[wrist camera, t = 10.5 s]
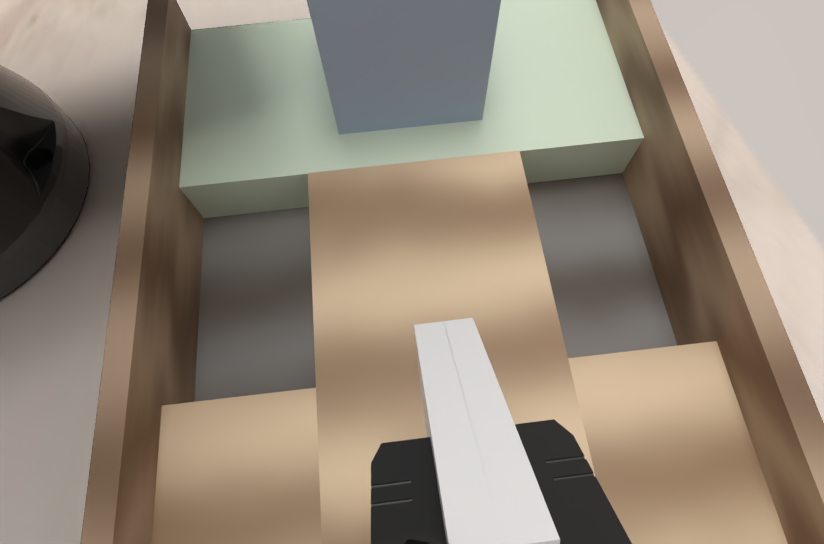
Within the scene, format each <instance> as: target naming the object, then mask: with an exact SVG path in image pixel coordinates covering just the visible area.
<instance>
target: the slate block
mask: <svg viewBox="0 0 824 544" xmlns="http://www.w3.org/2000/svg"><path fill="white" fill-rule="evenodd" d="M307 3H308V7H309V11H310V16H311V20H312V24H313V28H314V32H315V37H316V41H317V45H318V49H319V53H320V57H321V62H322V66H323V70H324V74H325V78H326V82H327V87H328V91H329V95H330V99H331V103H332V107H333V112H334V116H335V120H336V124H337V128H338V132H339V134H349V133H359V132H368V131H378V130H388V129H398V128H407V127H417V126H427V125H437V124H446V123H456V122H466V121H476V120H482V119H483V112H484V106H485V100H486V93H487V87H488V80H489V74H490V68H491V61H492V55H493V49H494V42H495V36H496V30H497V23H498V17H499V10H500V4H501V0H307Z"/></svg>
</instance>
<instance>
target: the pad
mask: <svg viewBox="0 0 824 544" xmlns="http://www.w3.org/2000/svg"><path fill="white" fill-rule="evenodd" d="M643 139H644V136H643V133H642V130H641V127H640V125H639V122H638V119H637V116H636V113H635V110H634V108H633V105H632V102H631V99H630V96H629V93H628V90H627V88H626V85H625V82H624V79H623V76H622V73H621V71H620V68H619V65H618V62H617V59H616V56H615V54H614V51H613V48H612V45H611V42H610V39H609V36H608V34H607V31H606V28H605V25H604V22H603V19H602V17H601V14H600V11H599V8H598V5H597V2H596V0H501V4H500V10H499V17H498V23H497V30H496V36H495V42H494V49H493V55H492V61H491V68H490V74H489V80H488V87H487V93H486V100H485V106H484V112H483V119H482V120H476V121H466V122H456V123H446V124H437V125H427V126H417V127H407V128H398V129H388V130H378V131H368V132H359V133H349V134H339V132H338V128H337V124H336V120H335V116H334V112H333V107H332V103H331V99H330V95H329V91H328V87H327V82H326V78H325V74H324V70H323V66H322V62H321V57H320V53H319V49H318V45H317V41H316V37H315V32H314V28H313V24H312V20H311V18H307V19H297V20H287V21H277V22H267V23H257V24H247V25H237V26H226V27H216V28H206V29H196V30H191V38H190V51H189V64H188V77H187V90H186V103H185V117H184V130H183V143H182V156H181V169H180V182H179V188H180V189H181V190H182V192H183V193H184V194H185V195H186V197H187V198H188V199H189V200H190V201H191V203H192V204H193V205H194V206H195V208H196V209H197V210H198V211H199V213H200V214H201V215H202V216H203V218H211V217H220V216H229V215H238V214H248V213H257V212H266V211H275V210H285V209H294V208H303V207H309V194H308V173H313V172H323V171H332V170H341V169H351V168H360V167H370V166H379V165H388V164H398V163H407V162H416V161H426V160H435V159H445V158H454V157H463V156H473V155H482V154H492V153H501V152H510V151H520V155H521V159H522V164H523V168H524V172H525V176H526V181H527V183H535V182H544V181H553V180H562V179H572V178H581V177H590V176H599V175H609V174H618V173H623V171H624V169H625V168H626V166H627V165H628V163H629V161H630V160H631V158H632V157H633V155H634V153H635V152H636V150H637V149H638V147H639V145H640V144H641V142H642V141H643Z"/></svg>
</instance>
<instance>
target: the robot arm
mask: <svg viewBox="0 0 824 544" xmlns="http://www.w3.org/2000/svg"><path fill="white" fill-rule="evenodd" d="M88 179H89V160H88V153H87V149H86V146H85V143H84V140H83V138H82V135H81V133H80V132H79V130H78V128H77V127H76V126H75V124H74V123H73V122H72V120H71V119H70V118H69V117H68V116H67V115H66V114H65V113H64V112H63V111H62V110H61V109H60V108H59V107H58V106H57V105H56V104H55V103H54V102H53V101H52V99H51V98H50V97H49V96H48V95H47V94H45V93H44V92H43V91H42V90H41V89H40V88H38V87H37V86H36V85H34V84H33V83H31V82H30V81H28V80H27V79H25V78H23V77H22V76H20V75H18V74H16V73H14V72H13V71H11V70H9V69H7V68H5V67H3V66H2V65H0V299H1V298H2V297H4V296H5V295H7V294H8V293H10V292H11V291H13V290H14V289H15V288H17V287H18V286H19V285H21V284H22V283H23V282H24V281H26V280H27V279H28V278H29V277H31V276H32V275H33V274H34V273H35V272H36V271H37V270H38V269H39V268H40V267H41V266H42V265H43V264H44V263H45V262H46V261H47V260H48V259H49V258H50V257H51V256H52V254H53V253H54V252H55V251H56V250H57V248H58V247H59V246H60V244H61V243H62V242H63V240H64V239H65V237H66V236H67V234H68V233H69V231H70V229H71V228H72V226H73V224H74V222H75V220H76V218H77V216H78V214H79V212H80V209H81V207H82V204H83V201H84V198H85V195H86V191H87V185H88ZM414 330H415V339H416V348H417V357H418V366H419V375H420V384H421V393H422V402H423V411H424V419H425V425H426V432H427V437H425V438H418V439H410V440H402V441H394V442H387V443H381V445H380V447H379V449H378V450H377V452H376V454H375V456H374V458H373V460H372V462H371V544H632V543H631V541H630V539H629V537H628V535H627V533H626V532H625V530H624V528H623V526H622V524H621V522H620V520H619V519H618V517H617V515H616V513H615V511H614V509H613V508H612V506H611V504H610V502H609V500H608V498H607V496H606V495H605V493H604V491H603V489H602V487H601V485H600V483H599V482H598V480H597V478H596V476H595V477H594V474H593V470H592V469H591V467H590V465H589V463H588V461H587V459H585V457H584V454H583V452H582V450H581V448H580V446H579V445H578V443H577V441H576V439H575V437H574V435H573V434H571V433H570V432H569V431H568V430H567V429H565V428H564V427H563V426H562V425H560V424H559V423H558V422H557V421H556V420H554V419H552V420H545V421H537V422H529V423H521V424H514V421H513V419H512V416H511V414H510V411H509V409H508V406H507V403H506V401H505V398H504V396H503V393H502V391H501V388H500V386H499V383H498V381H497V378H496V376H495V373H494V370H493V368H492V365H491V363H490V360H489V358H488V355H487V353H486V350H485V348H484V345H483V343H482V340H481V338H480V335H479V332H478V330H477V327H476V325H475V322H474V320H473V318H465V319H457V320H449V321H441V322H433V323H425V324H416V325H414Z"/></svg>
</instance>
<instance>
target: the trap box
mask: <svg viewBox="0 0 824 544" xmlns="http://www.w3.org/2000/svg"><path fill="white" fill-rule="evenodd" d="M596 2H597V5H598V8H599V11H600V14H601V17H602V19H603V22H604V25H605V28H606V31H607V34H608V36H609V39H610V42H611V45H612V48H613V51H614V54H615V56H616V59H617V62H618V65H619V68H620V71H621V73H622V76H623V79H624V82H625V85H626V88H627V90H628V93H629V96H630V99H631V102H632V105H633V108H634V110H635V113H636V116H637V119H638V122H639V125H640V127H641V130H642V133H643V136H644V139H643V141H642V142H641V144H640V145H639V147H638V149H637V150H636V152H635V153H634V155H633V157H632V158H631V160H630V161H629V163H628V165H627V166H626V168H625V169H624V171H623V173H618V174H609V175H599V176H590V177H581V178H572V179H562V180H553V181H544V182H535V183H527V181H526V176H525V172H524V168H523V164H522V159H521V155H520V151H510V152H501V153H492V154H482V155H473V156H463V157H454V158H445V159H435V160H426V161H416V162H407V163H398V164H388V165H379V166H370V167H360V168H351V169H341V170H332V171H323V172H313V173H308V194H309V207H303V208H294V209H285V210H275V211H266V212H257V213H248V214H238V215H229V216H220V217H211V218H203V216H202V215H201V214H200V213H199V211H198V210H197V209H196V208H195V206H194V205H193V204H192V203H191V201H190V200H189V199H188V198H187V197H186V195H185V194H184V193H183V192H182V190H181V189H180V188H179V182H180V169H181V156H182V143H183V130H184V117H185V103H186V90H187V77H188V64H189V51H190V38H191V29H190V27H189V25H188V23H187V21H186V19H185V17H184V15H183V13H182V11H181V9H180V7H179V5H178V3H177V1H176V0H148V4H147V12H146V20H145V28H144V36H143V44H142V53H141V61H140V69H139V77H138V85H137V93H136V101H135V109H134V117H133V125H132V133H131V141H130V149H129V157H128V165H127V173H126V181H125V189H124V197H123V206H122V214H121V222H120V230H119V238H118V246H117V254H116V262H115V270H114V278H113V286H112V294H111V302H110V310H109V318H108V326H107V334H106V342H105V350H104V359H103V367H102V375H101V383H100V391H99V399H98V407H97V415H96V423H95V431H94V439H93V447H92V455H91V463H90V471H89V479H88V487H87V495H86V503H85V512H84V520H83V528H82V536H81V544H371V462H372V460H373V458H374V456H375V454H376V452H377V450H378V449H379V447H380V445H381V443H387V442H394V441H402V440H410V439H418V438H425V437H427V432H426V425H425V419H424V411H423V402H422V393H421V384H420V375H419V366H418V357H417V348H416V339H415V330H414V325H416V324H425V323H433V322H441V321H449V320H457V319H465V318H473V320H474V322H475V325H476V327H477V330H478V332H479V335H480V338H481V340H482V343H483V345H484V348H485V350H486V353H487V355H488V358H489V360H490V363H491V365H492V368H493V370H494V373H495V376H496V378H497V381H498V383H499V386H500V388H501V391H502V393H503V396H504V398H505V401H506V403H507V406H508V409H509V411H510V414H511V416H512V419H513V421H514V424H521V423H529V422H537V421H545V420H552V419H554V420H556V421H557V422H558V423H559V424H560V425H562V426H563V427H564V428H565V429H567V430H568V431H569V432H570V433H571V434H573V435H574V437H575V439H576V441H577V443H578V445H579V446H580V448H581V450H582V452H583V454H584V457H585V459H587V461H588V463H589V465H590V467H591V469H592V470H593V474H594V477H595V476H596V478H597V480H598V482H599V483H600V485H601V487H602V489H603V491H604V493H605V495H606V496H607V498H608V500H609V502H610V504H611V506H612V508H613V509H614V511H615V513H616V515H617V517H618V519H619V520H620V522H621V524H622V526H623V528H624V530H625V532H626V533H627V535H628V537H629V539H630V541H631V543H632V544H824V423H823V421H822V418H821V416H820V413H819V411H818V408H817V406H816V404H815V401H814V399H813V396H812V394H811V391H810V389H809V386H808V384H807V382H806V379H805V377H804V374H803V372H802V369H801V367H800V364H799V362H798V360H797V357H796V355H795V352H794V350H793V347H792V345H791V343H790V340H789V338H788V335H787V333H786V330H785V328H784V325H783V323H782V321H781V318H780V316H779V313H778V311H777V308H776V306H775V303H774V301H773V299H772V296H771V294H770V291H769V289H768V286H767V284H766V281H765V279H764V277H763V274H762V272H761V269H760V267H759V264H758V262H757V260H756V257H755V255H754V252H753V250H752V247H751V245H750V242H749V240H748V238H747V235H746V233H745V230H744V228H743V225H742V223H741V220H740V218H739V216H738V213H737V211H736V208H735V206H734V203H733V201H732V199H731V196H730V194H729V191H728V189H727V186H726V184H725V181H724V179H723V177H722V174H721V172H720V169H719V167H718V164H717V162H716V159H715V157H714V155H713V152H712V150H711V147H710V145H709V142H708V140H707V138H706V135H705V133H704V130H703V128H702V125H701V123H700V120H699V118H698V116H697V113H696V111H695V108H694V106H693V103H692V101H691V98H690V96H689V94H688V91H687V89H686V86H685V84H684V81H683V79H682V77H681V74H680V72H679V69H678V67H677V64H676V62H675V59H674V57H673V55H672V52H671V50H670V47H669V45H668V42H667V40H666V37H665V35H664V33H663V30H662V28H661V25H660V23H659V20H658V18H657V16H656V13H655V11H654V8H653V6H652V3H651V1H650V0H596Z"/></svg>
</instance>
